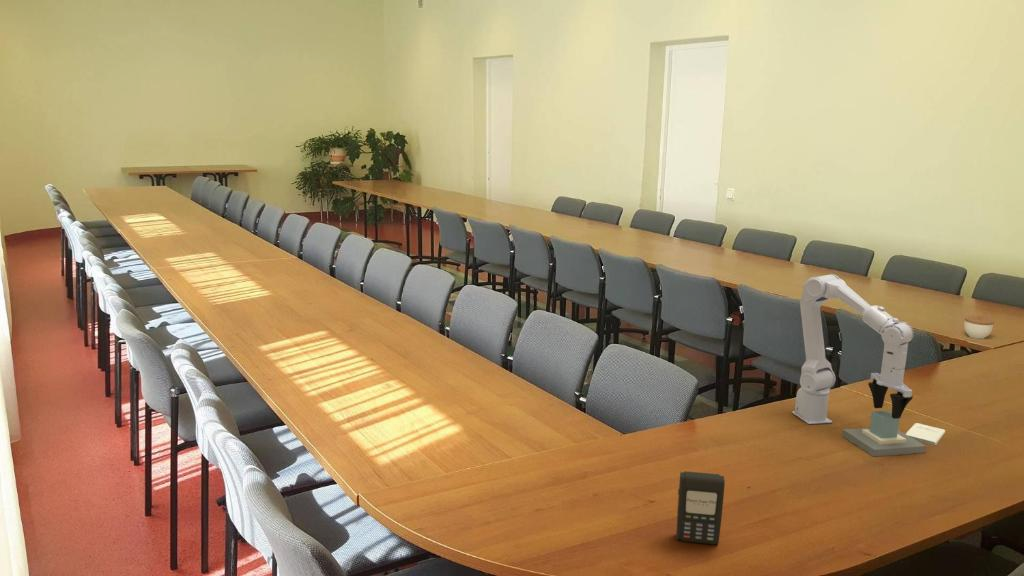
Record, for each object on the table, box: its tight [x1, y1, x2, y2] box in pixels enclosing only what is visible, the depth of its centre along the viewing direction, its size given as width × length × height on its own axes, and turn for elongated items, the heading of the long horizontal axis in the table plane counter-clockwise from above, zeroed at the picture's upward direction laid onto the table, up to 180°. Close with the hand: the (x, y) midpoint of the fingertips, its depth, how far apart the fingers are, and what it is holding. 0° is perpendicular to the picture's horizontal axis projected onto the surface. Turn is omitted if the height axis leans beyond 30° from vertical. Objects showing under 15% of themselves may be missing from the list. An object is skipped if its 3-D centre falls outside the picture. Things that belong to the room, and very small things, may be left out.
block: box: [869, 410, 900, 438], centre depth 217 cm, size 5×5×6 cm
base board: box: [841, 427, 927, 457], centre depth 218 cm, size 14×16×3 cm
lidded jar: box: [963, 314, 995, 340], centre depth 332 cm, size 11×11×9 cm
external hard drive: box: [905, 422, 946, 446], centre depth 226 cm, size 2×8×12 cm
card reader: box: [676, 471, 726, 545], centre depth 165 cm, size 9×4×15 cm, turn 81°
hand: (886, 412), depth 217 cm, fingers open, 7 cm apart
